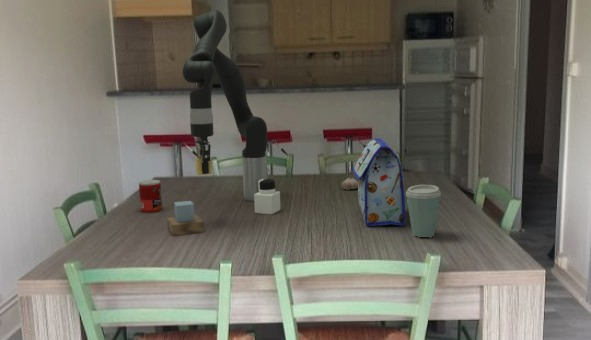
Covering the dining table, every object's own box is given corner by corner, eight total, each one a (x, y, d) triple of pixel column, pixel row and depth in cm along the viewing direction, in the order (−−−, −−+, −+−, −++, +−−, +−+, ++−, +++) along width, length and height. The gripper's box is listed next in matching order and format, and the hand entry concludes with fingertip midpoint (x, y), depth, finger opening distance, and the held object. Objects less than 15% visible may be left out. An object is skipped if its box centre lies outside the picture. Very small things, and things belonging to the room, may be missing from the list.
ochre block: (209, 171, 194) (208, 157, 193) (212, 174, 190) (211, 159, 189) (196, 172, 193) (195, 158, 192) (198, 175, 188) (197, 160, 187)
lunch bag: (351, 210, 205) (351, 137, 201) (397, 209, 205) (398, 136, 200) (358, 228, 183) (357, 146, 178) (409, 227, 183) (410, 145, 178)
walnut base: (197, 224, 192) (197, 214, 192) (203, 232, 183) (203, 221, 182) (167, 227, 189) (167, 217, 188) (172, 235, 179) (171, 225, 179)
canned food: (157, 212, 209) (155, 183, 207) (137, 212, 211) (134, 183, 209) (165, 207, 217) (163, 179, 215) (146, 207, 218) (144, 179, 216)
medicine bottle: (280, 210, 209) (279, 178, 207) (271, 214, 202) (270, 182, 200) (263, 208, 212) (262, 177, 210) (254, 213, 205) (253, 180, 203)
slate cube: (191, 216, 189) (190, 200, 188) (194, 220, 184) (193, 204, 183) (175, 218, 187) (174, 202, 186) (177, 222, 182) (176, 206, 181)
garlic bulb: (362, 188, 243) (362, 170, 241) (354, 191, 237) (354, 173, 235) (346, 186, 247) (346, 168, 245) (338, 190, 241) (338, 171, 239)
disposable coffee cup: (433, 242, 166) (434, 192, 164) (399, 237, 172) (399, 189, 169) (445, 233, 175) (446, 185, 173) (411, 228, 181) (412, 182, 178)
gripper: (217, 123, 183) (219, 175, 186) (208, 119, 196) (210, 168, 199) (194, 124, 180) (196, 176, 183) (186, 120, 194) (189, 170, 196)
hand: (204, 172), depth 191 cm, fingers closed on ochre block, 4 cm apart
